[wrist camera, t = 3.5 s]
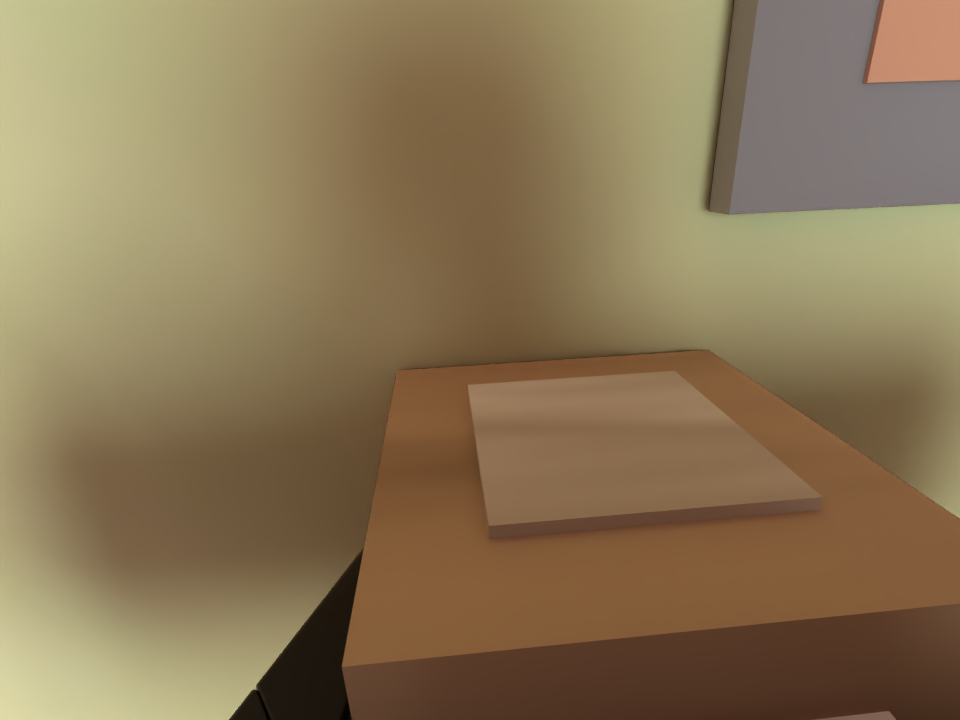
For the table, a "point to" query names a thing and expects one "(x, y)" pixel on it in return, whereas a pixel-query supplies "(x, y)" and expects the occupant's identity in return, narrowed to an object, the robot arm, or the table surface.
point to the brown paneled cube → (642, 555)
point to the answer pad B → (839, 106)
